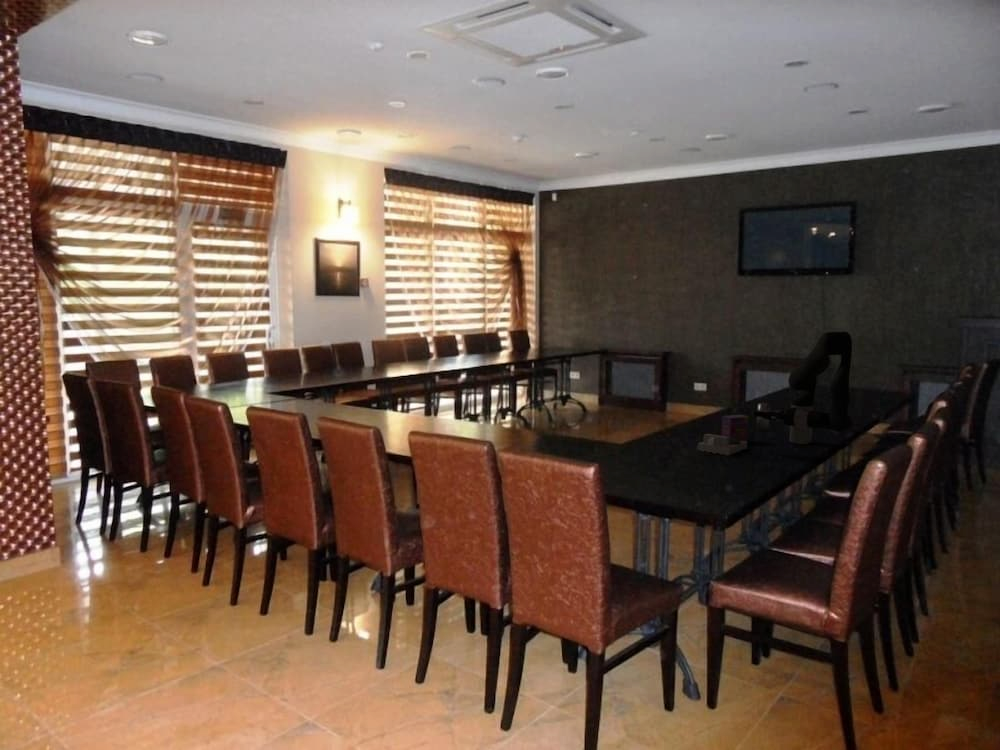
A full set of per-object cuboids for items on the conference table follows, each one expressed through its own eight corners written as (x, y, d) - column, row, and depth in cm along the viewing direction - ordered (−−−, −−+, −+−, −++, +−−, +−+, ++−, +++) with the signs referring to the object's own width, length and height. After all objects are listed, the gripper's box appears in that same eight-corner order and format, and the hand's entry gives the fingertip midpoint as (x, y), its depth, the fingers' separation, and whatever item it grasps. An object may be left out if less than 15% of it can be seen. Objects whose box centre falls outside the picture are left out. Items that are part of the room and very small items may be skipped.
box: (729, 443, 324) (730, 417, 322) (720, 441, 329) (722, 415, 328) (747, 442, 328) (749, 416, 326) (739, 439, 333) (740, 414, 331)
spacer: (758, 425, 308) (760, 402, 306) (770, 427, 305) (771, 404, 303) (754, 427, 304) (755, 404, 303) (766, 429, 301) (767, 405, 300)
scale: (716, 443, 323) (716, 428, 322) (746, 448, 314) (747, 432, 313) (697, 450, 309) (698, 434, 308) (729, 455, 300) (729, 439, 299)
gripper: (804, 406, 299) (763, 401, 310) (792, 410, 288) (750, 405, 299) (803, 424, 300) (762, 418, 311) (791, 429, 289) (749, 423, 300)
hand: (757, 412), depth 305 cm, fingers closed on spacer, 5 cm apart
